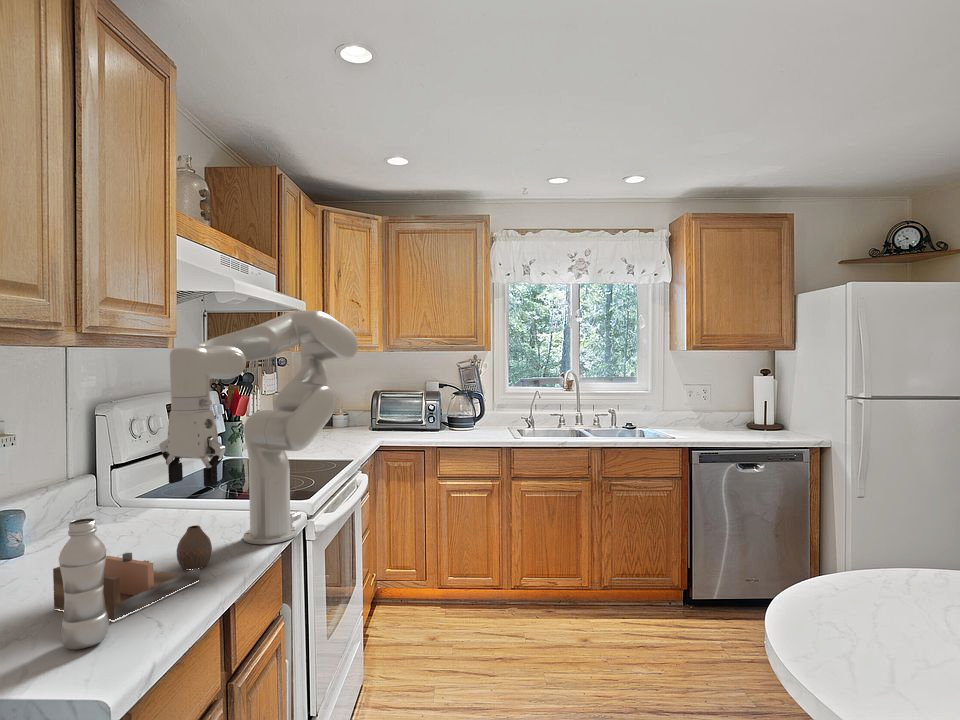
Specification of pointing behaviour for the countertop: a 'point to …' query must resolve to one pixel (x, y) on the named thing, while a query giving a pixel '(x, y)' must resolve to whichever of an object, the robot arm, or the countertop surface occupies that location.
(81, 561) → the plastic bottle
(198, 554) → the vase
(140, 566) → the pusher plate
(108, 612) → the pusher lane
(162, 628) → the countertop surface
